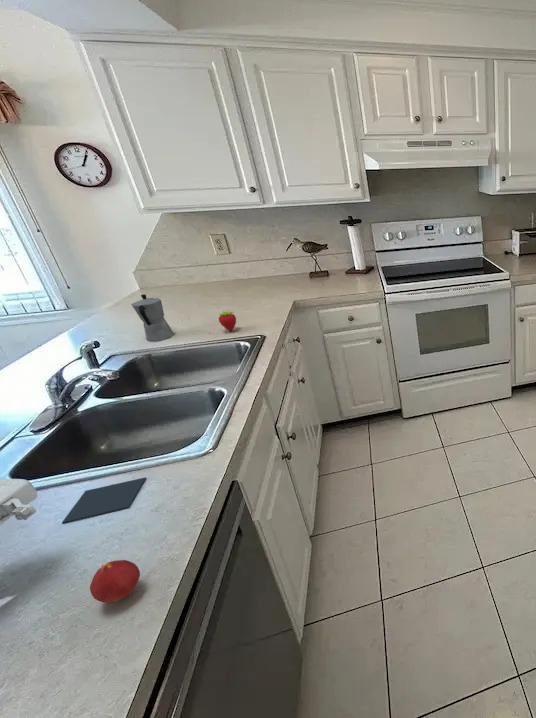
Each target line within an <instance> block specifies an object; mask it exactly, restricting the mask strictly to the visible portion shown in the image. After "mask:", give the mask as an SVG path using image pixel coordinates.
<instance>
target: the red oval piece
mask: <svg viewBox="0 0 536 718" xmlns="http://www.w3.org/2000/svg"><path fill="white" fill-rule="evenodd" d="M140 577H141V572H140V569H139V567H138V565H137V564H136V563H134V562H132V561H129V560H127V559H118V560H112V561H106V562H104V563H102V565H101V567H99V568H98V569H97V570H96V571H95V573H94V575H93V577H92V580H91V582H90V585H89V592H90V594H91V597H92V598H93V599H95V600H96V601H97V602H100V603H105V604H107V603H114V602H117V601H120V600H123V599H125V598H127V597H128V596H129V595H130V594H131V593H132V591H133V590H134V589H135V588H136V586H137V585H138V583H139V580H140Z"/></svg>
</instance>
